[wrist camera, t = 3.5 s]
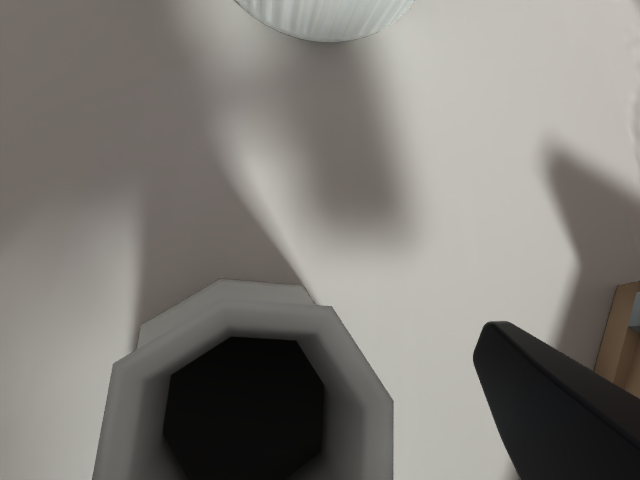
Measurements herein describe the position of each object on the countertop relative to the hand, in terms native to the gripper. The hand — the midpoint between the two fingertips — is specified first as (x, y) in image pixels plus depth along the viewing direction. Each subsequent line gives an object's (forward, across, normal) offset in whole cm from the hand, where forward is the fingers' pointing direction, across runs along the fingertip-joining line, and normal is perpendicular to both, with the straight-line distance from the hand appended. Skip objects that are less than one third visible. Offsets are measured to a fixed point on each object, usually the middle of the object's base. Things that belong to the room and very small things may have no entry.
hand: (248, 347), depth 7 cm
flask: (+4, 0, +6) cm, 7 cm away
